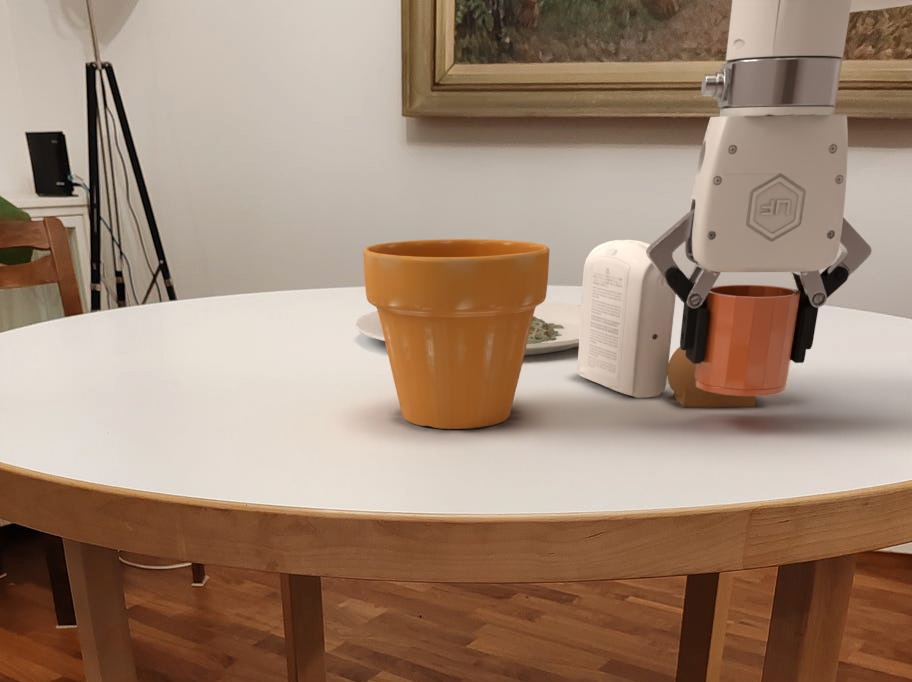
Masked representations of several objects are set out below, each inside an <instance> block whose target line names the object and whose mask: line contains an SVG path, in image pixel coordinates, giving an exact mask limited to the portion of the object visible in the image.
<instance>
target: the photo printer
mask: <svg viewBox="0 0 912 682" xmlns="http://www.w3.org/2000/svg"><path fill="white" fill-rule="evenodd" d="M650 245H651V244H650V243H648V242H644V241H641V240H636V239H615V240H609V241H606V242H603V243H601V244H598V245H597V246H595V247H594V248H593V249H592V250H591V251H590V252H589V254H588V255H587V257H586V259H585V262H584V265H583V273H582V276H583V277H582V290H581V291H582V292H581V304H580V305H581V321H580V336H579V346H578V352H577V373H578V375H579V376H580V377H582V378H584V379H587V380H588V381H590V382H594V383H596V384H598V385H601V386H603V387H606V388H609V389H611V390H613V391H616V392H619V393H620V394H624V395H627V396H630V397H632V398H634V399H648V398H655V397H658V396H660V395H661V394H662V393H663V392H665V390H666V386H667V382H668V377H667V368H668V364H669V361H670V355H671V354H670V353H671V345H672V334H673V326H674V316H675V307H676V296H677V295H676V293H675V292H674V291H673V290H672V289H671V288H670V286H669V285H668V284H667V283H666V282H665V281H664V279H663V277H662V276H661V275H660V273H659V272H658V271H657V269H656V268H655V267H654V265H653V264H652V262H651V261H650V260H649V258H648V257H647V255H646V251H647V248H648V247H649V246H650Z"/></svg>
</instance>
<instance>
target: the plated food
mask: <svg viewBox="0 0 912 682" xmlns="http://www.w3.org/2000/svg"><path fill="white" fill-rule="evenodd" d="M581 305H582V304H575V303H568V302H560V301H559V302H558V301H545V300H544V301H543V302H542V303H541V304H539V305H538V306H536V308H535V311H534V315H533V318H532V322H531V327H530V331H529V336H528V340H527V345H526V350H525V354H524V356H531V355H541V354H550V353H556V352H562V351H566V350H570V349H574V348H579V336H580V321H581ZM355 328H356V330H357V331H358V332H359V333H360V334H362V335H365V336H366V337H368V338H371V339H372V338H373V339H376V340H380V341H382V342H385V339H384V334H383V330H382V326H381V322H380V318H379V314H378V310H375V311H372V312H370V313H367V314H364V315H362V316H361V317H359V318H358V319H357V321H356V323H355Z"/></svg>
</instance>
